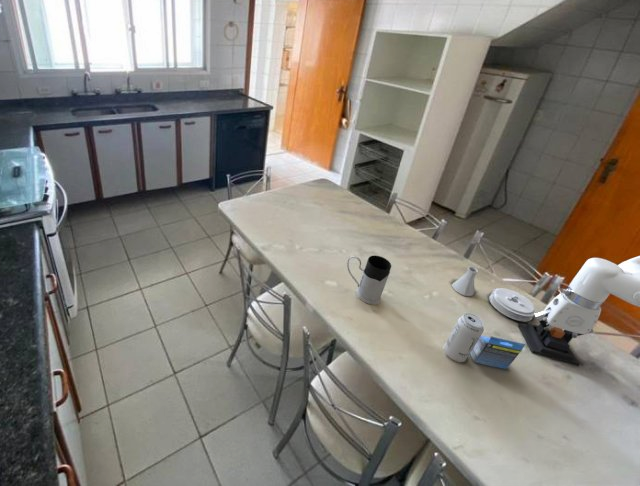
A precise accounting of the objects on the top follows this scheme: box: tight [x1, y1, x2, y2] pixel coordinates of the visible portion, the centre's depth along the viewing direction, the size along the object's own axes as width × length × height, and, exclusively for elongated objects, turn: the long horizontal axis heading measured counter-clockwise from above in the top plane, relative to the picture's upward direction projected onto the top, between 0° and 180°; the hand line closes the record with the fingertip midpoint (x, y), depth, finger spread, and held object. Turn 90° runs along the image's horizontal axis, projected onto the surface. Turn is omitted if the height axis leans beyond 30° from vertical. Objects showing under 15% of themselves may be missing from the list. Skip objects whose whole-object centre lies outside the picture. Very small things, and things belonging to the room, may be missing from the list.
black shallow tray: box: [517, 322, 581, 367], centre depth 104 cm, size 12×11×2 cm
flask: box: [451, 266, 479, 297], centre depth 121 cm, size 7×7×10 cm
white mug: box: [346, 255, 392, 306], centre depth 115 cm, size 9×14×15 cm, turn 60°
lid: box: [488, 287, 537, 323], centre depth 116 cm, size 13×13×5 cm
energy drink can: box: [443, 313, 485, 363], centre depth 95 cm, size 6×6×15 cm
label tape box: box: [469, 335, 526, 370], centre depth 94 cm, size 9×4×12 cm, turn 78°
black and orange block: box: [536, 323, 571, 352], centre depth 102 cm, size 5×7×5 cm
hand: (551, 338), depth 103 cm, fingers closed on black and orange block, 4 cm apart
